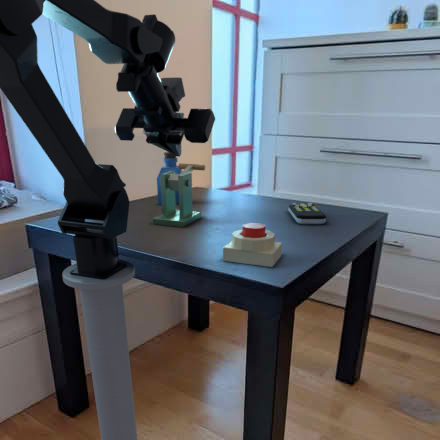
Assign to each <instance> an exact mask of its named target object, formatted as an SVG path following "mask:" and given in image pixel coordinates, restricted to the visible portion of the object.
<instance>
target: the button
mask: <svg viewBox="0 0 440 440" xmlns="http://www.w3.org/2000/svg"><path fill="white" fill-rule="evenodd" d="M241 227H242V229H241V230H242V236H244V237H249V238H261V237H265V230H267V229H266V227H267V225H266V224H263V223H260V222H247V223H243V224H242V226H241Z"/></svg>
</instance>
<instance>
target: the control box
mask: <svg viewBox="0 0 440 440" xmlns="http://www.w3.org/2000/svg"><path fill="white" fill-rule="evenodd" d="M282 252H283V242H279V241H276V234H275V233H274V232H273V231H272V230H268V229H265V237H261V238H249V237H244V236H242V229H237V230H235V231H234V232H232V234H231V241H229V242H228V243H227V244H226V245H224V246H223V247H222V261H223V262H229V263H237V264H245V265H251V266H260V267H266V268H273V267H274V266H275V265H276V264H277V262H278V261H279V260H280V258H281V257H282V254H283V253H282Z"/></svg>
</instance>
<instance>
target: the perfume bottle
mask: <svg viewBox="0 0 440 440" xmlns="http://www.w3.org/2000/svg"><path fill="white" fill-rule="evenodd" d="M163 155H164V157H163V163H164V165H163V166H162V167H161V168H160V170H159V173H158V174H157V177H156V188H157V189H156V190H157V191H156V193H157V205H162V198H161V179H160V174H163V173H166V172H170V171H172V172H174V174H180V173H181V172H182V171H183V169H179V168H178V164H177V163H178V162H179V161H178V157H177V156H175V155H173V154H171V153H169V152H167V151H164V152H163ZM175 203H176V205H177V206H179V191H175Z"/></svg>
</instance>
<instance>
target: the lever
mask: <svg viewBox="0 0 440 440" xmlns="http://www.w3.org/2000/svg"><path fill="white" fill-rule="evenodd" d="M177 166H178V168H179V169H182V172H181V173H180V174H173V175H172V176H171V177H170V178H169V179H168V183H169V188H170V190H172V191H179V187H178V175H181V174H184V173H187V172H189V173H192V172H193V171H205V170H206V164H202V163H201V164H199V163H180V162H179V163H178V164H177Z"/></svg>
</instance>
